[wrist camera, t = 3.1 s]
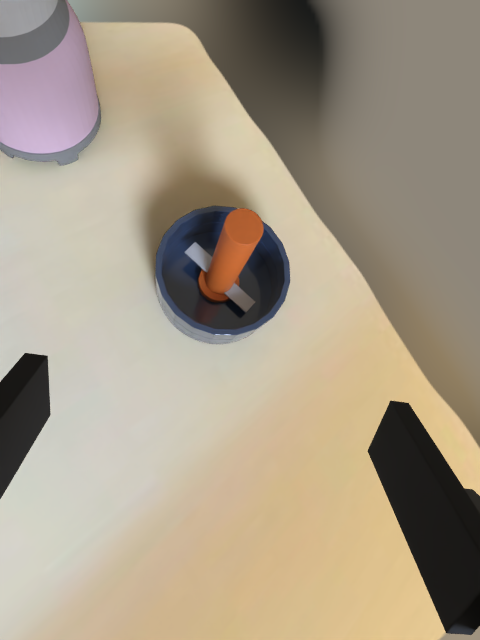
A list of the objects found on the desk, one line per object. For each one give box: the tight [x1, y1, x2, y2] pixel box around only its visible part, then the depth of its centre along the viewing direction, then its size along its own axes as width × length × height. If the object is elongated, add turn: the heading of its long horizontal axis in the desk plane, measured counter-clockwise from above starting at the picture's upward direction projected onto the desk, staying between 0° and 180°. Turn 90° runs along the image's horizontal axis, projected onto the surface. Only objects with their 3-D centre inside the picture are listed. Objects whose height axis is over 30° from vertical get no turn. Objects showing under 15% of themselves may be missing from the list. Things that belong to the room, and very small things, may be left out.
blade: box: [185, 208, 264, 313], centre depth 36 cm, size 9×4×14 cm, turn 49°
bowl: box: [155, 206, 290, 344], centre depth 40 cm, size 13×13×6 cm
